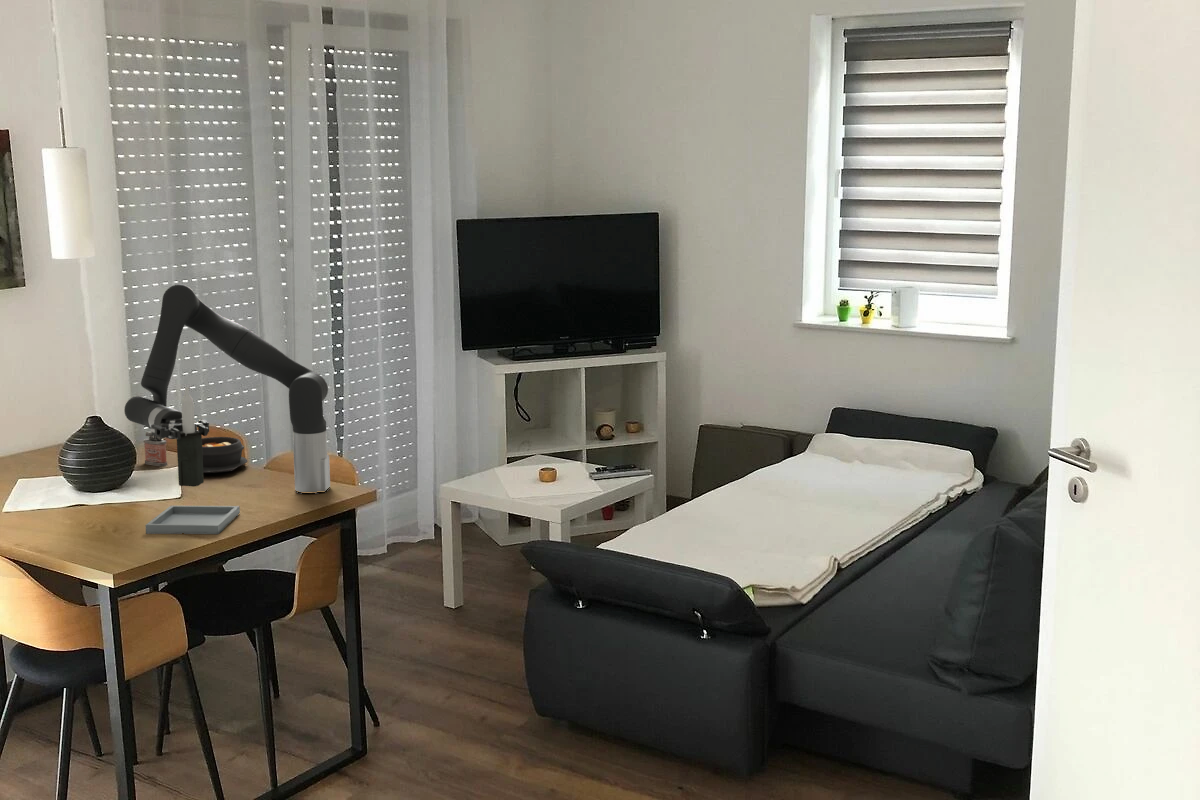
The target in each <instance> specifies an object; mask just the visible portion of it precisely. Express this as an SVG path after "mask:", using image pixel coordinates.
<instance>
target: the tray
mask: <svg viewBox="0 0 1200 800" xmlns="http://www.w3.org/2000/svg"><path fill="white" fill-rule="evenodd" d="M240 508H241V507H240V505H169V506H168V507H167V508H165V510H163V511H162V512H160V514H157V515H156V516H155V517H154V518H152V519H151V520H150V521H149V522H148V523H146V524H145V534H149V535H150V534H153V535H154V534H155V535H156V534H158V535H159V534H162V535H163V534H164V535H165V534H166V535H167V534H169V535H170V534H171V535H174V534H176V535H177V534H178V535H181V534H182V533H184V534H182V535H219V534H221V532H223V530H225V529H226V528H227V527H228V526H229V525H230V524H231V523H232V522H233V521H234V520H235V519H236V518H237V517H239V516H238V514H239V513H240V514H241V509H240ZM236 516H237V517H236ZM235 517H236V518H235ZM234 518H235V519H234ZM233 519H234V520H233ZM232 520H233V521H232ZM231 521H232V522H231ZM230 522H231V523H230ZM229 523H230V524H229ZM228 524H229V525H228ZM227 525H228V526H227ZM226 526H227V527H226ZM225 527H226V528H225ZM224 528H225V529H224Z"/></svg>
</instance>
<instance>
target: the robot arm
mask: <svg viewBox="0 0 1200 800" xmlns="http://www.w3.org/2000/svg"><path fill="white" fill-rule="evenodd" d="M162 295H163V296H162V302H161V309H160V316H159V321H158V326H157V331H156V334H155V338H154V342H153V344H152V348H151V350H150V354H149V356H148V359H147V362H146V366H145V368H144V371H143V374H142V377H141V381H140V386H141V387H142V388H143V389H144V390H147V391H148V392H150V393H151V395H152V398H153V400H152V399H149V398H146V397H142V396H138V395H137V396H136V395H135V396H133V397H130V398H129V399H128V400H127V401H126V402H125V406H124V415H125V417H126V419H127V420H128V421H129V422H132V423H135V424H138V425H142V426H144V427H147V428H149V429H150V432H151V435H154V436H157V437H160V438H162V439H165V438H166V439H169V440H177V439H180V438H181V436H180V432H181V431H183V426H182V411H179V410H177V409H176V408H173V407H169V406H167V402H168V390H169V385H170V382H171V379H172V376H173V372H174V369H175V365H176V359H177V355H178V349H179V343H180V340H181V335H182V333H183V330H184V327H185V326H186V327H188V328H190V329H191V330H193V331H195V332H197V333H199V334H201V335H202V336H203V337H205V338H206V339H207V340H208V341H210V342H211V343H212V344H213V345H214V346H216V348H218V349H220V351H222V352H223V353H224V354H226V355H227V356H228V357H229V358H231V359H232V360H235V362H237V363H239V364H240V365H241V366H242V367H244V368H247V369H249V370H251V371H253V372H256V373H257V374H258V373H259V374H261V375H264V376H267V377H270V378H272V379H274V380H276V381H277V382H280V384H282V385H283V386H284V387H286V388H287V389H288V403H289V405H288V406H289V417H290V418H289V419H290V423H291V425H292V443H293V444H292V446H293V470H294V471H293V473H294V474H293V475H294V491H295V490H296V491H299V492H317V491H326V490H327V489H328V488H329V487H330V488H331V470H330V469H331V468H330V464H331V463H330V455H329V454H328V440H327V438H328V436H327V433H328V432H327V421H326V420H325V417H324V409H323V406H324V405H323V401H324V400H325V399H326V397H327V396H328V394H329V386H328V383H327V382H326V380H325V378H324V377H323V376H322V375H320V374H318V373H317V372H315V371H313V370H312V369H310V368H307V367H306V366H304V365H302V364H300V363H298V362H297V361H295V360H294V359H292V358H290V357H289V356H287V355H286V354H284V353H283V352H282V351H280V350H279V349H278V348H276V347H275V346H273V344H271V343H270V342H268V341H266V340H265V339H264V338H262V336H259V334H257V333H255V332H254V331H252V330H250V329H249V328H247V327H246V326H244V325H242V324H240V323H239V322H236V321H234V320H231V319H229V318H227V317H224V316H222V315H221V314H219V313H218V312H216V311H215V310H213V309H212V308H211V307H210V306H208V305H207V304H206V303H204V302H203V301H202V300H201V299H200V298H199V297H198V296H197V294H196V293H195V292H194V290H193V289H192V288H191V287H189V286H188V285H185V284H182V283H181V284H180V283H179V284H174V285H171V286H169V287H168V288H167V289H166V290H165V292H164V293H163V294H162ZM195 431H198V432H199V433H201V434H202V436H204V437H207V436H208V435H209V433H210V422H209V421H207V420H206V419H204V418H199V419H198V421H196V420H195ZM330 488H329V489H330ZM329 489H328V490H329ZM328 490H327V491H328ZM296 491H295V492H296Z"/></svg>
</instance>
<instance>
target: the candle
mask: <svg viewBox="0 0 1200 800" xmlns="http://www.w3.org/2000/svg"><path fill="white" fill-rule="evenodd" d="M184 389H185V391H184V395H183V397H182V399H181V401H180V403H181V412H182V426H183V431H181V432H180V436H181V438H180V439H176V452H177V455H176V456H177V457H176V458H177V473H178V477H177V478H178V486H179V487H184V486H185V487H199V486H201V485H202V484H203V483H204V473H203V456H202V438H203V437H202V436H203V435H202V434H201V433H199V432H198V431H195V421H196V420H195V406H194V405H195V404H194V403H195V402H194V399H193V397H192V396H191V393H190V391H189V390H190V389H189V387H188V386H186V387H185V388H184Z"/></svg>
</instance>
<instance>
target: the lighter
mask: <svg viewBox="0 0 1200 800" xmlns="http://www.w3.org/2000/svg"><path fill="white" fill-rule="evenodd" d="M145 437H148V438H144V439H143V443H144V444H143V445H144V456H145V457H144V459H145V460H144V464H145V465H149V466H150V465H151V466H155V467H166V466H168V461H167V460H168V459H167V458H168V457H167V445H166V444H167V440H164V439H163V438H160V437H157V436H154V435H151V431H146V432H145Z"/></svg>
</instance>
